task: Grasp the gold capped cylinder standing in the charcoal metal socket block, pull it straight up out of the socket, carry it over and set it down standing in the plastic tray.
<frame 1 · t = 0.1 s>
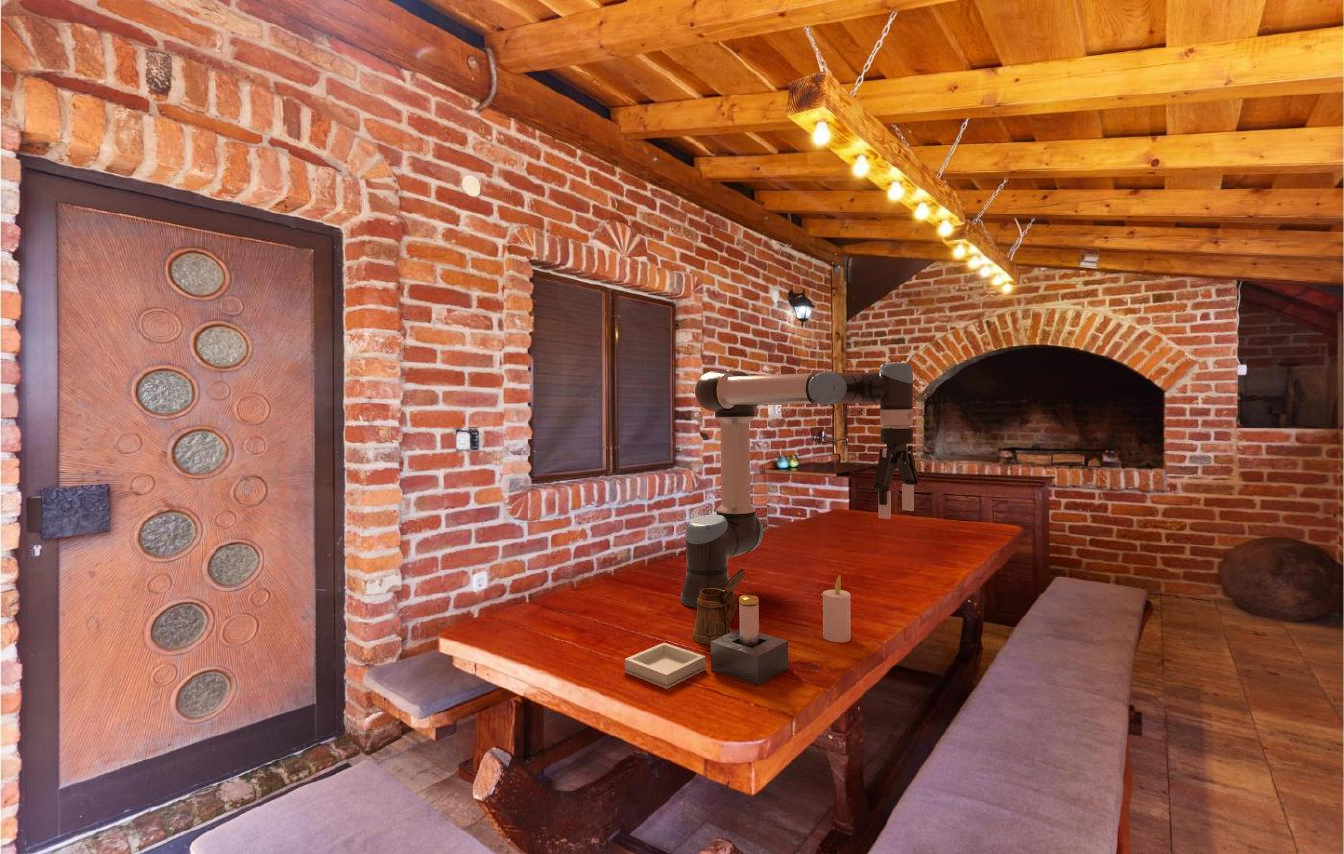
hand: (896, 514, 157), 28 cm above the table, fingers open, 13 cm apart
gold capped cylinder: (749, 633, 135), in the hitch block
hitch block: (749, 669, 135), on the table
candle: (836, 638, 153), on the table
wooden mug: (720, 640, 152), on the table
tray: (665, 670, 135), on the table
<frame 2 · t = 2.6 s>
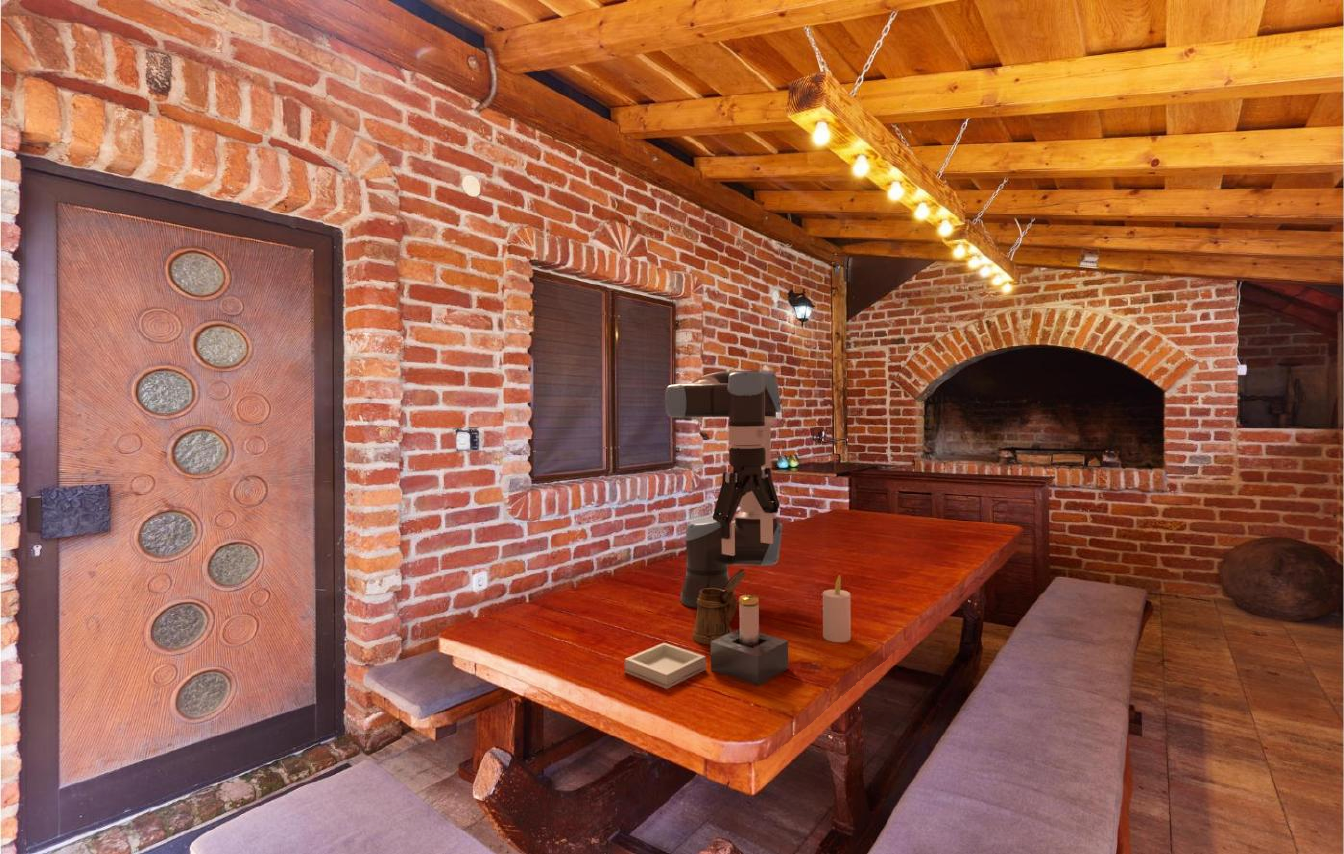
hand: (748, 548, 134), 26 cm above the table, fingers open, 13 cm apart
nothing on the table moved.
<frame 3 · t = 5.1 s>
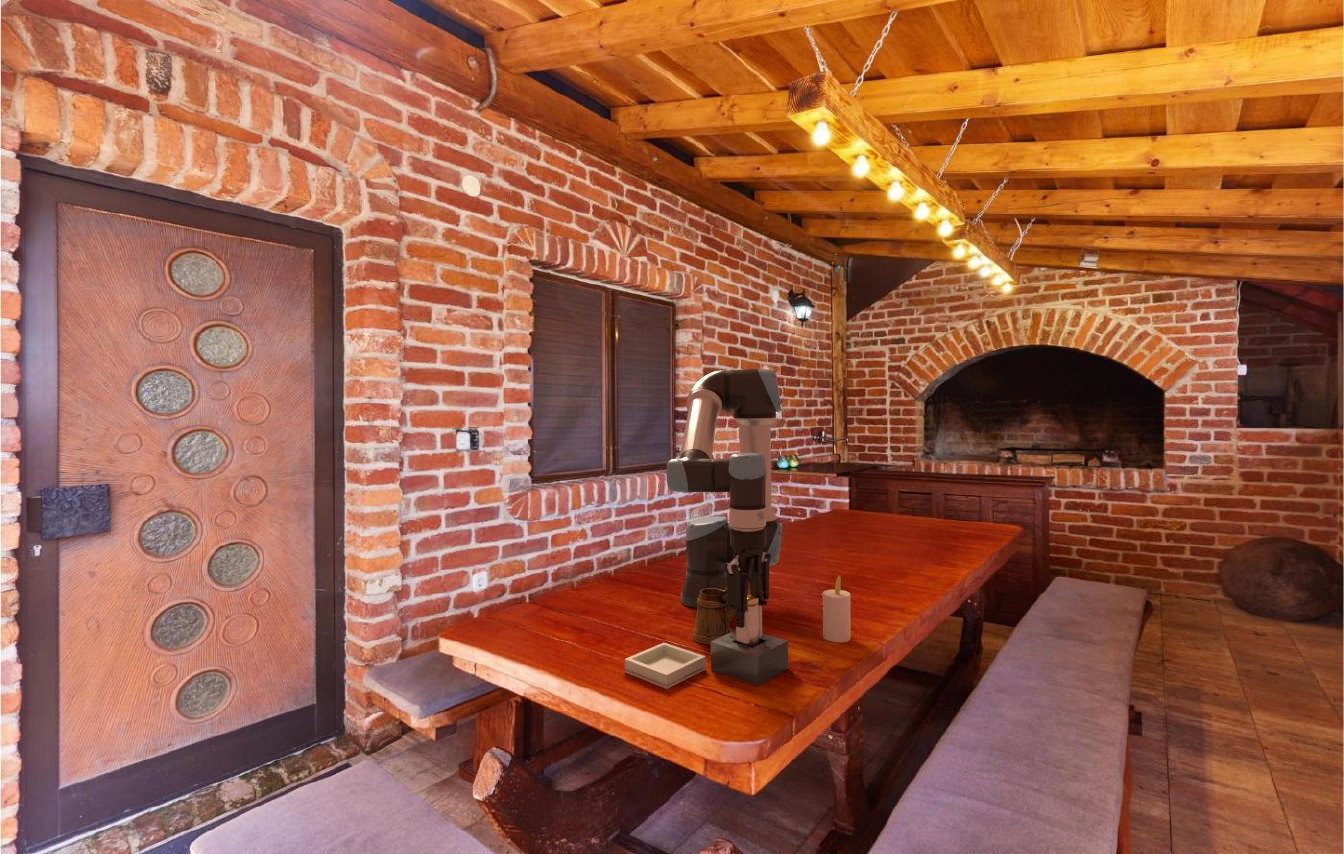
hand: (749, 638, 135), 7 cm above the table, fingers closed on gold capped cylinder, 4 cm apart
gold capped cylinder: (749, 633, 135), in the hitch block, touching gripper
everything else where it was.
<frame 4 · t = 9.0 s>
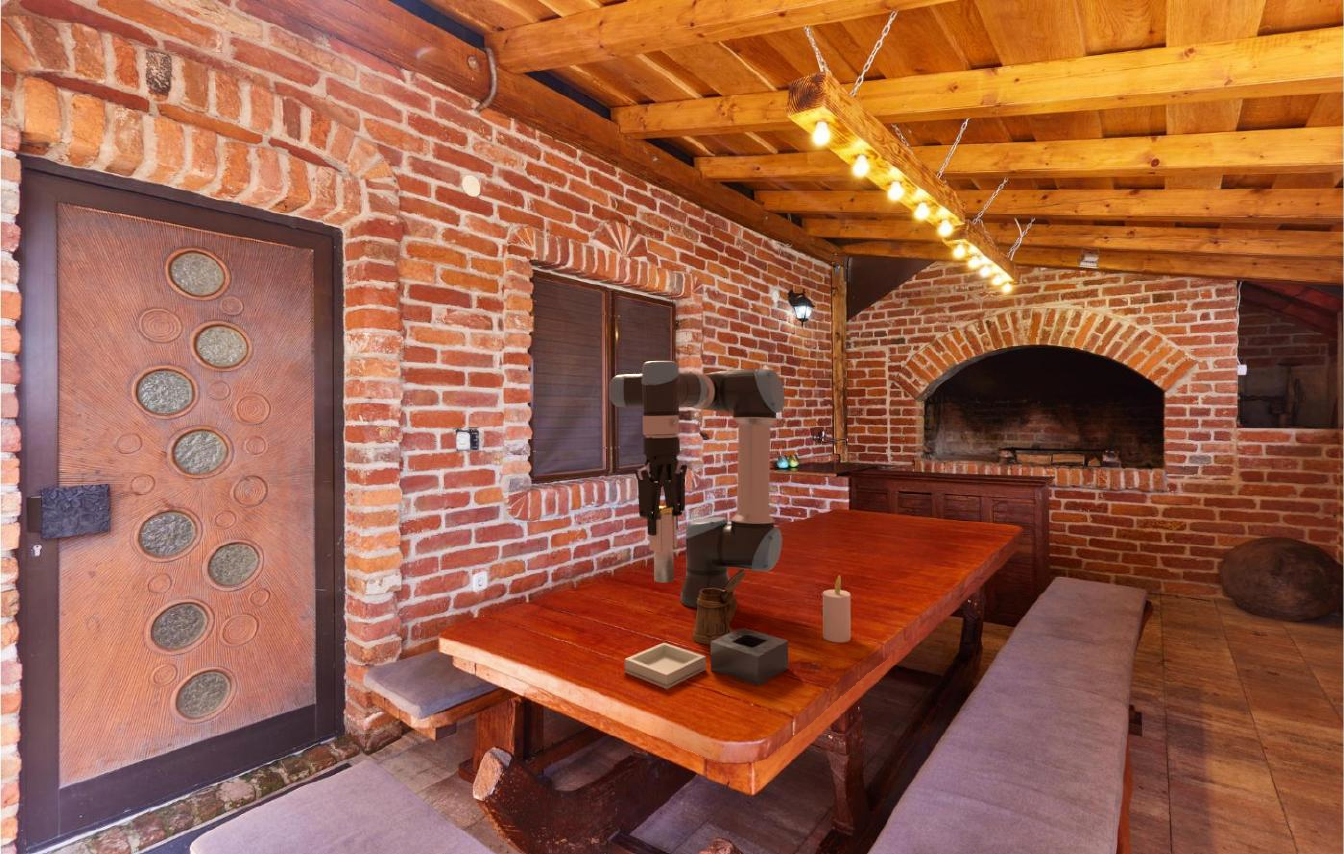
hand: (663, 548, 134), 26 cm above the table, fingers closed on gold capped cylinder, 4 cm apart
gold capped cylinder: (663, 543, 134), point 27 cm above the table, touching gripper
everything else where it was.
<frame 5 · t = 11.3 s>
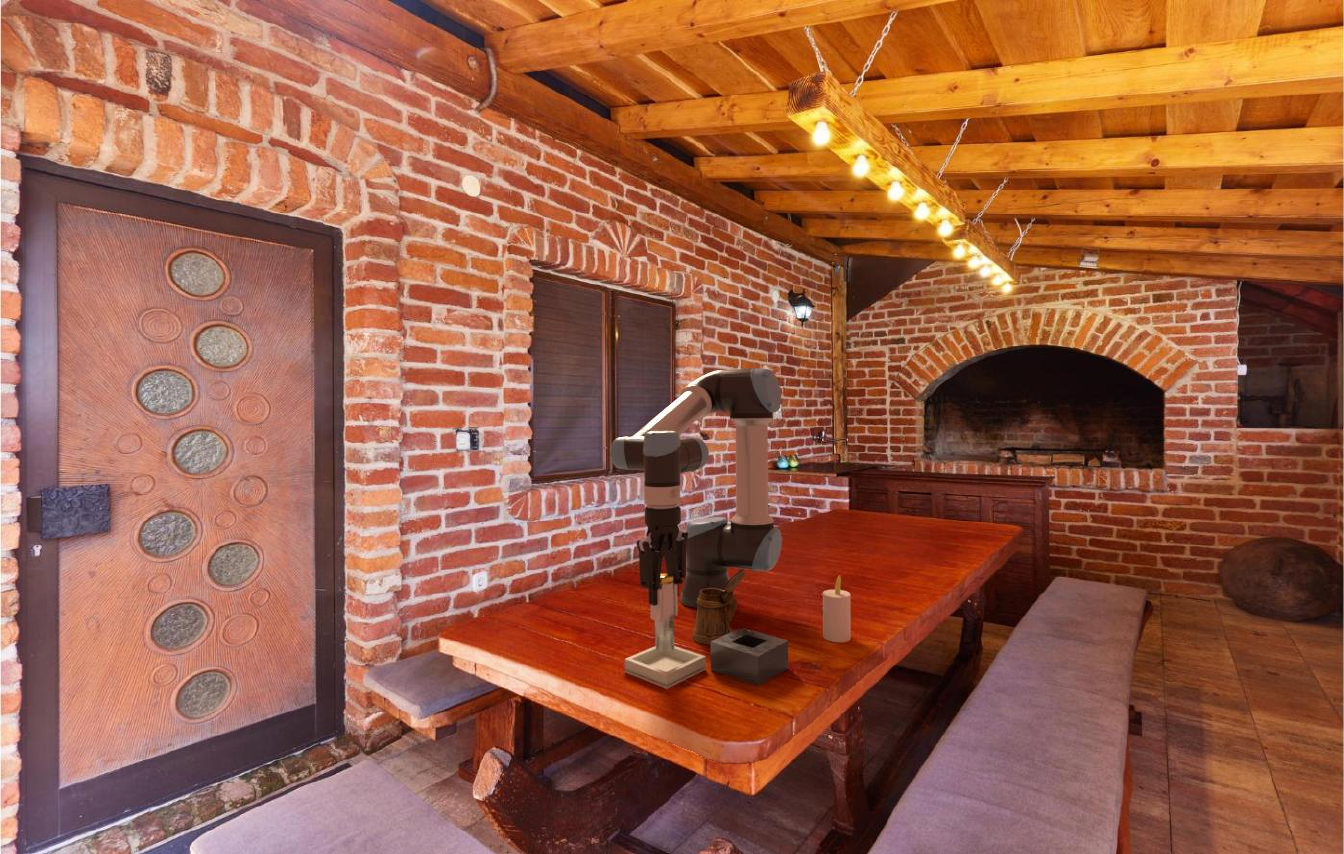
hand: (664, 616, 135), 12 cm above the table, fingers closed on gold capped cylinder, 4 cm apart
gold capped cylinder: (664, 612, 135), point 12 cm above the table, touching gripper
everything else where it was.
when the fingers open (8 cm above the table, at t = 13.2 s): gold capped cylinder stays where it is, resting on tray.
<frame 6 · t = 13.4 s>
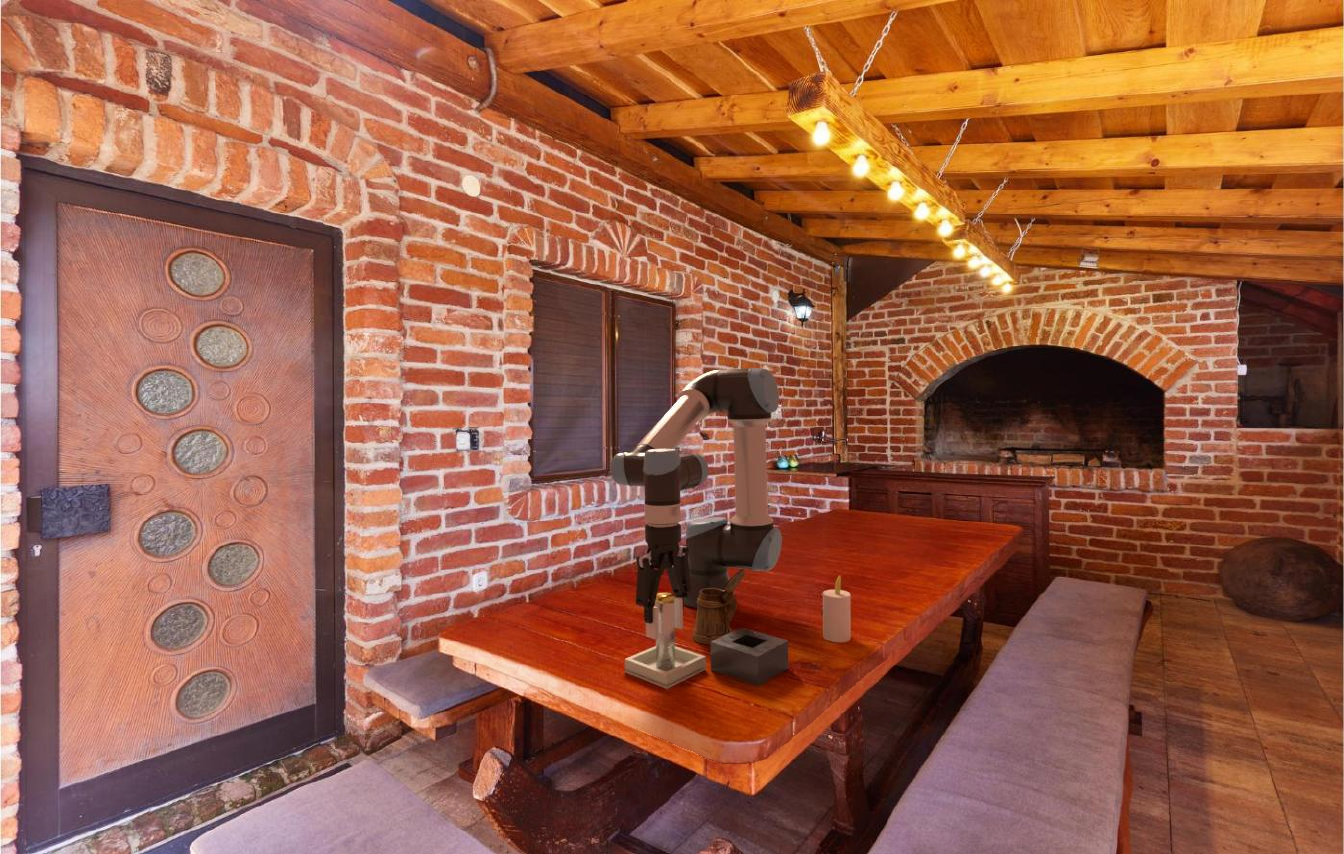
hand: (664, 632, 135), 8 cm above the table, fingers open, 7 cm apart
gold capped cylinder: (665, 631, 135), in the tray, point 8 cm above the table
everything else where it was.
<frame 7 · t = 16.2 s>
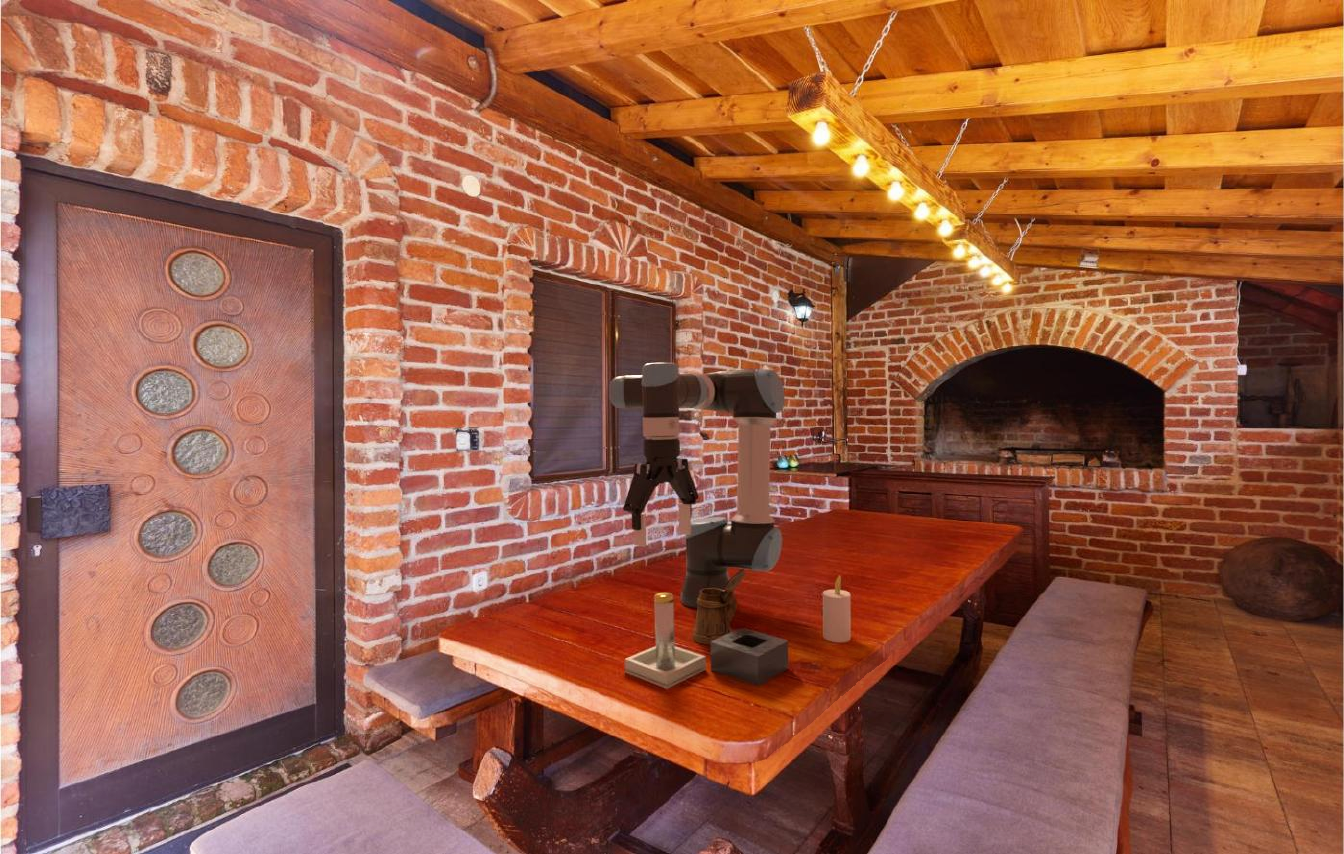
hand: (663, 539, 134), 28 cm above the table, fingers open, 13 cm apart
nothing on the table moved.
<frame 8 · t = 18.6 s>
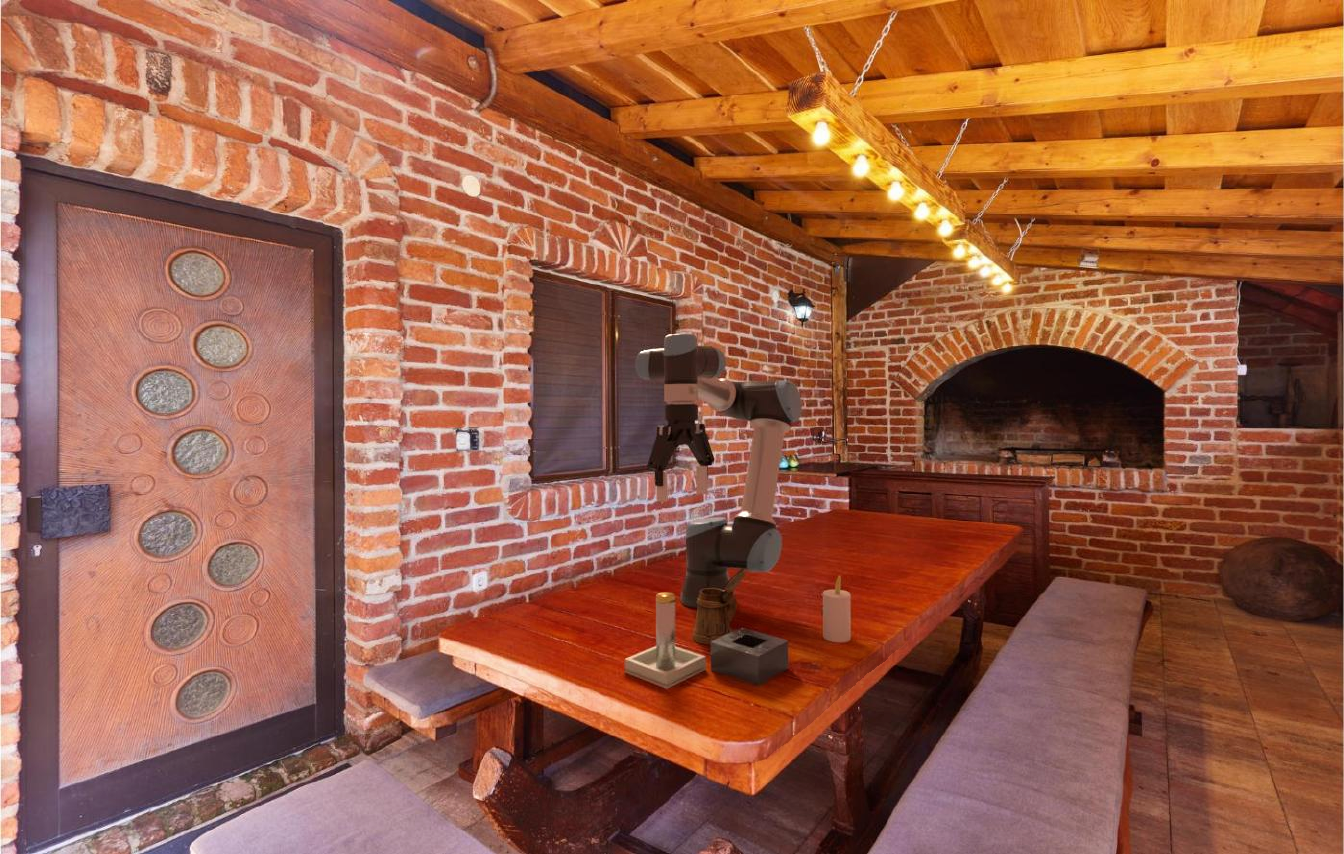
hand: (682, 497, 146), 35 cm above the table, fingers open, 13 cm apart
nothing on the table moved.
at the end: gold capped cylinder inside the target area on the tray (0.1 cm from its centre), point 8.4 cm above the tray's base; gold capped cylinder touching tray; the gripper is holding nothing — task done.
